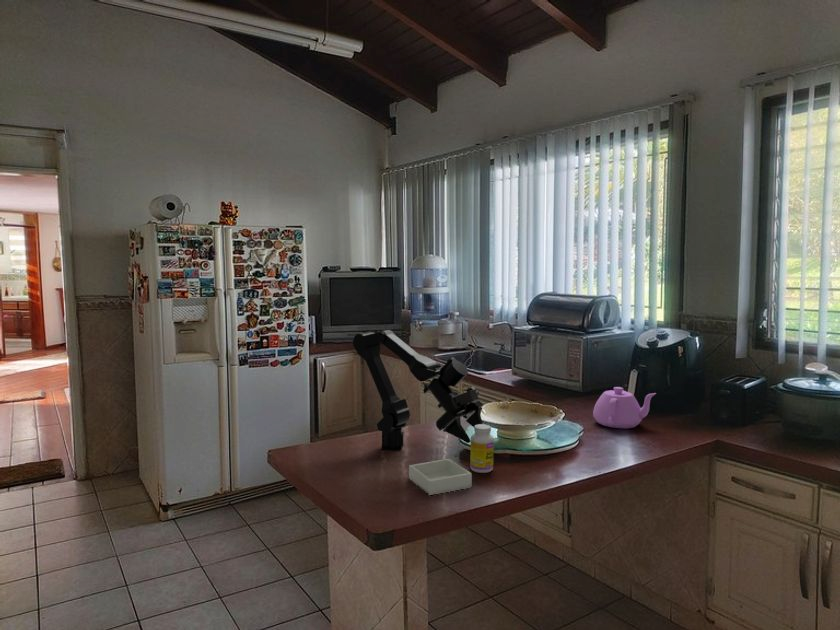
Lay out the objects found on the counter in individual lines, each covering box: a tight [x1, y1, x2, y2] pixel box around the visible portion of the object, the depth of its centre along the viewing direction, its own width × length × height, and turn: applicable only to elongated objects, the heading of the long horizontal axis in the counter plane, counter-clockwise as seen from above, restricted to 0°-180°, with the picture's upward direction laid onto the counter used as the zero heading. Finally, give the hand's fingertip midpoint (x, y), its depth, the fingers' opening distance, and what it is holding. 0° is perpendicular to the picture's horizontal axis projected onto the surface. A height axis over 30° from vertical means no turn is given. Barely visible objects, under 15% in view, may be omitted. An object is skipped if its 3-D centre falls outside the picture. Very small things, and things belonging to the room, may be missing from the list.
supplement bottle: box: [469, 423, 495, 474], centre depth 169 cm, size 7×7×13 cm
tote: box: [408, 458, 473, 496], centre depth 159 cm, size 13×13×4 cm
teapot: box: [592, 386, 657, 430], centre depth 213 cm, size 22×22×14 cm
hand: (477, 438), depth 169 cm, fingers open, 9 cm apart
